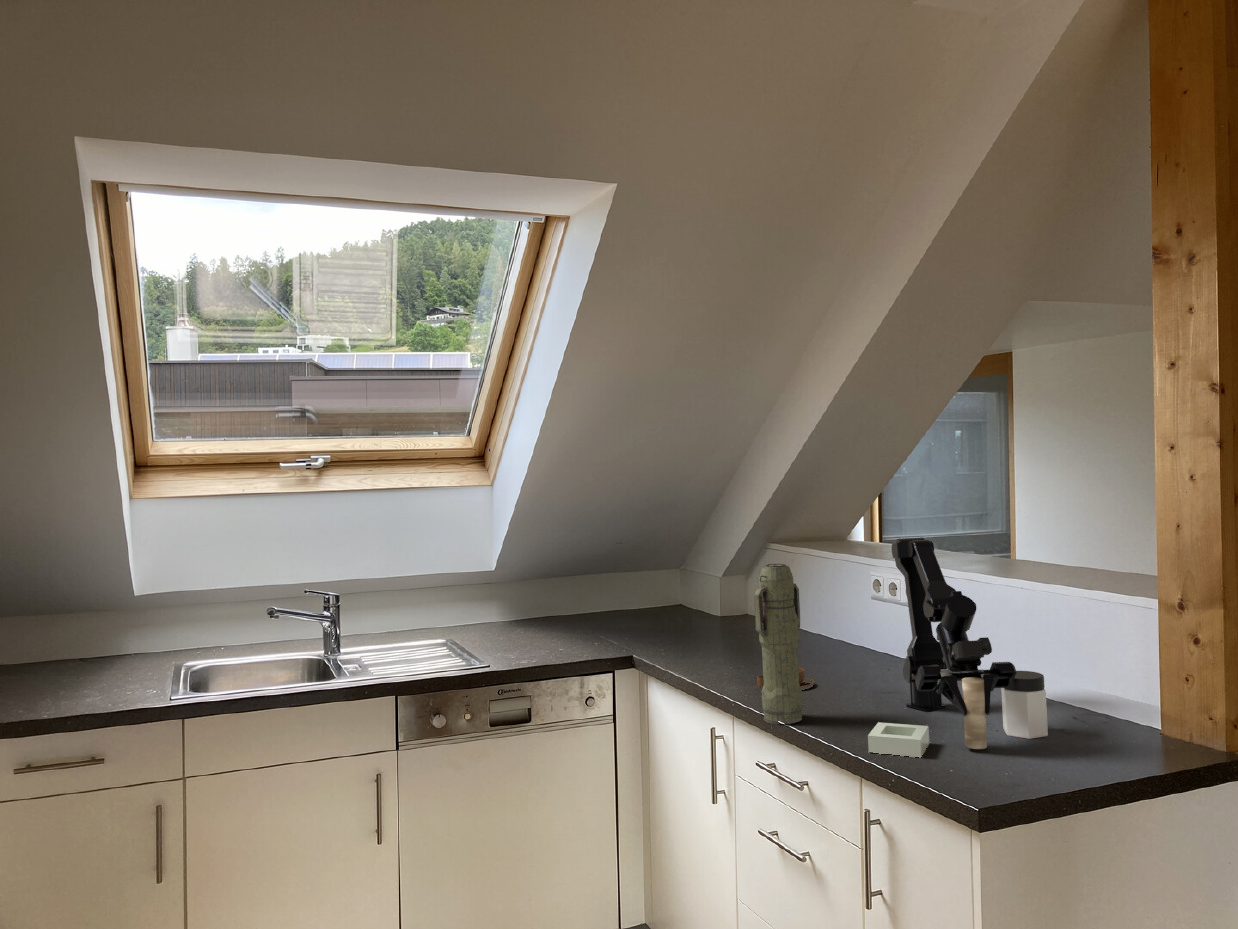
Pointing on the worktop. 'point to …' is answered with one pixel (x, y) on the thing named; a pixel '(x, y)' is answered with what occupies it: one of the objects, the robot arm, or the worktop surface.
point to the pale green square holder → (899, 739)
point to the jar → (1025, 706)
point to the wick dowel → (974, 713)
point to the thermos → (779, 642)
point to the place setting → (801, 678)
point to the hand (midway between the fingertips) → (976, 714)
